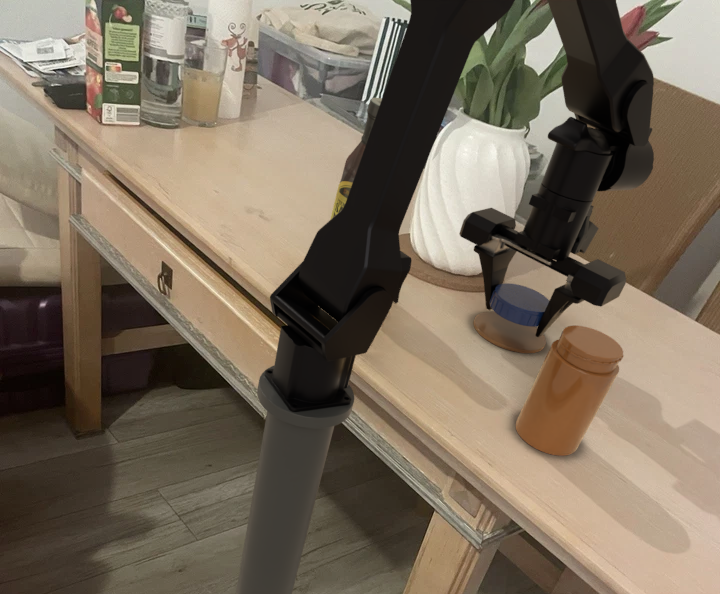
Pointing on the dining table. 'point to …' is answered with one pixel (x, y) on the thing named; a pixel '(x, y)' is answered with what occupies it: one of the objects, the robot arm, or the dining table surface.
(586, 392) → the jar
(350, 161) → the sauce bottle
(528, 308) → the lid
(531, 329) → the coaster
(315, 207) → the dining table surface
